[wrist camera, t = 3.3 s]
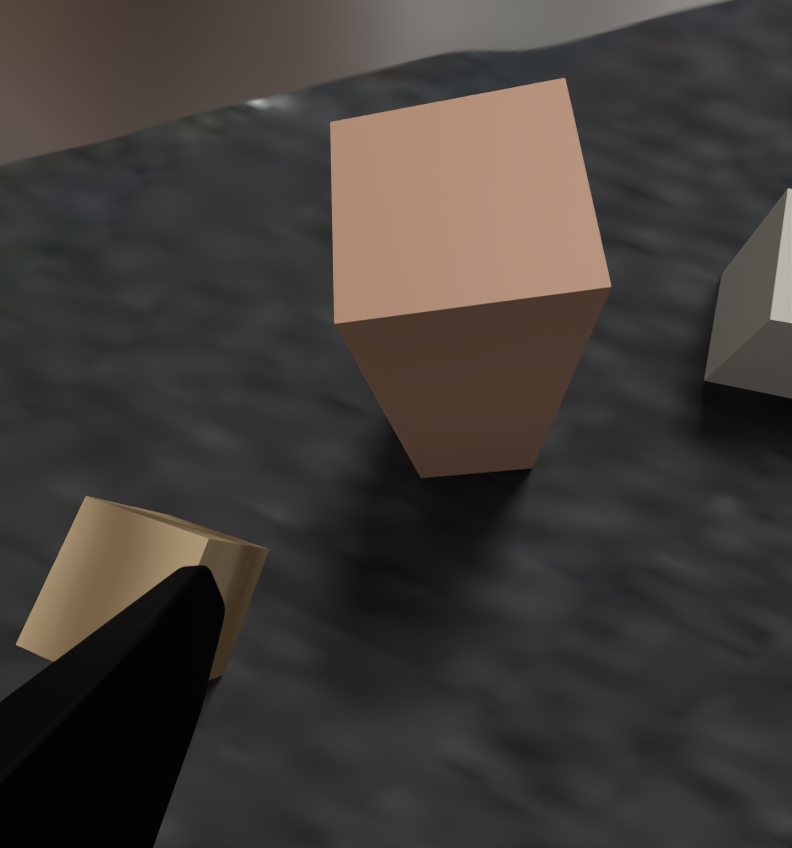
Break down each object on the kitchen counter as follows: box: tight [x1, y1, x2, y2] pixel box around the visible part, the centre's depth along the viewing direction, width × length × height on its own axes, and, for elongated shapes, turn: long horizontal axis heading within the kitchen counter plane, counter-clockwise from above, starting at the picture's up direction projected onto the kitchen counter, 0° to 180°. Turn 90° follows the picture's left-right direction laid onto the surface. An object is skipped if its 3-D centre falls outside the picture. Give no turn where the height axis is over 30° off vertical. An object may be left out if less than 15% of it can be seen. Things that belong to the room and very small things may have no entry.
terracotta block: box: [330, 78, 611, 478], centre depth 15 cm, size 4×4×13 cm
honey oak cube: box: [16, 496, 269, 680], centre depth 19 cm, size 5×5×5 cm
